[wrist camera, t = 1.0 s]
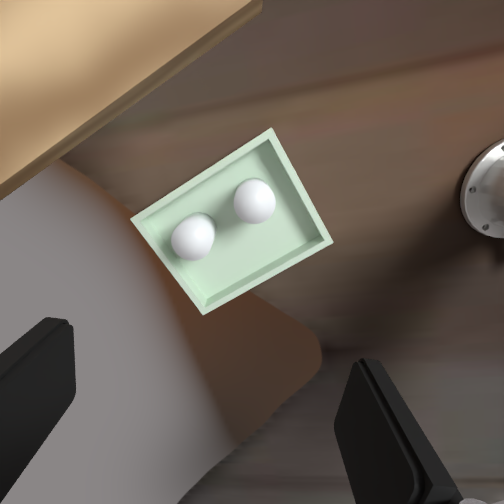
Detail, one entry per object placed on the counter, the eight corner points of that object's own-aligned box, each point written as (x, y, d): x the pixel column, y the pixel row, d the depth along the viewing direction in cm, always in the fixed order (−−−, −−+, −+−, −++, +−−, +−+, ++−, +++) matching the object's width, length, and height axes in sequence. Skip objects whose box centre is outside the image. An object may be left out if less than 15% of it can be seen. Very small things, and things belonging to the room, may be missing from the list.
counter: (253, 89, 33) (272, -89, 8) (113, 184, 36) (-172, 255, 11) (179, -47, 29) (-194, -1152, 4) (29, 72, 32) (-683, -186, 7)
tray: (326, 235, 39) (333, 242, 36) (206, 303, 41) (203, 315, 38) (269, 129, 34) (271, 127, 31) (139, 213, 37) (129, 219, 34)
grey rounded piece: (277, 201, 36) (283, 210, 31) (247, 220, 37) (247, 231, 32) (259, 170, 35) (262, 173, 30) (228, 189, 36) (225, 196, 30)
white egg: (223, 234, 37) (219, 248, 32) (194, 251, 38) (186, 267, 33) (203, 205, 36) (196, 214, 31) (174, 223, 37) (162, 235, 32)
